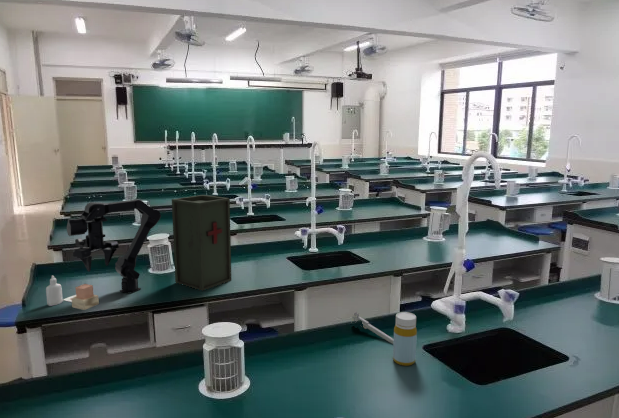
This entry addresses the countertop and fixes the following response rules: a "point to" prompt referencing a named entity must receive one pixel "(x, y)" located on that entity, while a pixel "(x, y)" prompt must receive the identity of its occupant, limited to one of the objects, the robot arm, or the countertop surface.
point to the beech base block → (85, 302)
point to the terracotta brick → (84, 291)
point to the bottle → (405, 339)
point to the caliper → (372, 328)
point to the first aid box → (202, 241)
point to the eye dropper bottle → (54, 293)
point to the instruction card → (69, 298)
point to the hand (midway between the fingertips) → (98, 268)
